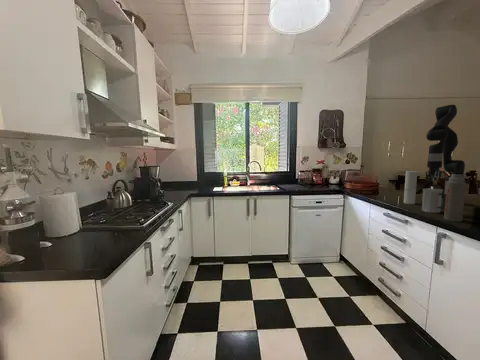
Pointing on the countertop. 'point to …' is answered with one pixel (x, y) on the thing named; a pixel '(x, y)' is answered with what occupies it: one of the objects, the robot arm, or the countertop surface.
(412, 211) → the countertop surface
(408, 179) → the cylindrical container
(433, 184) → the plunger
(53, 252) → the countertop surface
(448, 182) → the thermos bottle
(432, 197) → the press body
